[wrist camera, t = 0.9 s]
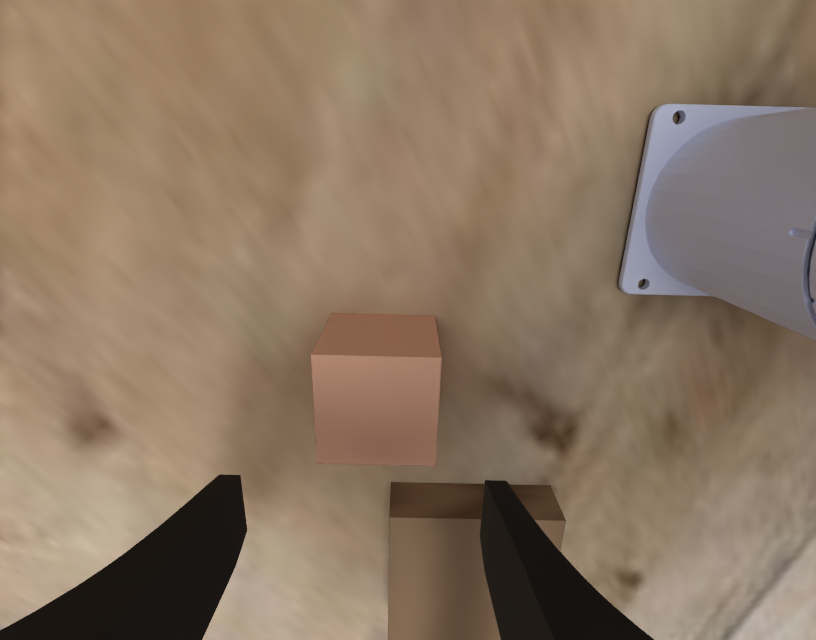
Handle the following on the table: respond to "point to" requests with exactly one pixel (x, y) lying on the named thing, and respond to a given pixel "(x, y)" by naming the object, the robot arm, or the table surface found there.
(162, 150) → the table surface
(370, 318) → the terracotta cube
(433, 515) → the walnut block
